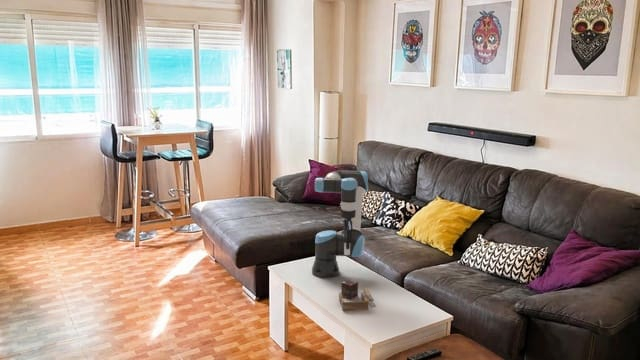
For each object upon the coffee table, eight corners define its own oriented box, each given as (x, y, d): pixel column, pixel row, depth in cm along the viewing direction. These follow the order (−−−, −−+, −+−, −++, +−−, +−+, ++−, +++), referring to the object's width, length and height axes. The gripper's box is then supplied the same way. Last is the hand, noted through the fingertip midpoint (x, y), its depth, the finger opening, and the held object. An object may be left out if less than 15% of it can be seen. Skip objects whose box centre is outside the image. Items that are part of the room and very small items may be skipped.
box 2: (338, 300, 251) (339, 292, 250) (363, 299, 252) (363, 291, 251) (342, 310, 240) (342, 302, 239) (368, 309, 241) (368, 301, 240)
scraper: (363, 292, 261) (363, 288, 260) (368, 292, 261) (368, 288, 261) (370, 306, 244) (370, 302, 244) (375, 306, 244) (375, 302, 244)
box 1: (358, 296, 256) (358, 282, 255) (350, 299, 252) (350, 285, 250) (348, 292, 260) (349, 278, 259) (340, 296, 256) (341, 282, 254)
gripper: (338, 206, 263) (337, 250, 268) (342, 212, 251) (341, 259, 255) (353, 206, 264) (352, 250, 269) (358, 212, 252) (356, 258, 256)
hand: (347, 254), depth 262 cm, fingers closed
